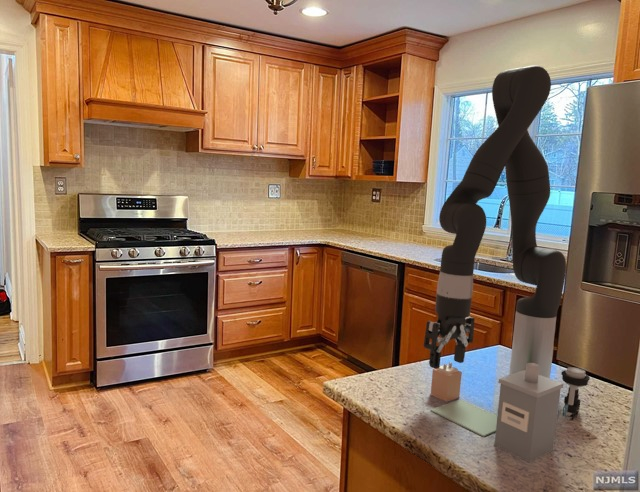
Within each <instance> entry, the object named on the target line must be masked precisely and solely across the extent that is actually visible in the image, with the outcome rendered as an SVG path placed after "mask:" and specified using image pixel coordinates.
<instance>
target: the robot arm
mask: <svg viewBox="0 0 640 492" xmlns="http://www.w3.org/2000/svg"><path fill="white" fill-rule="evenodd" d="M551 88H552V81H551V76H550V74H549V73H548V70H547V69H545V68H544V67H543V66H540V65H528V66H522V67H516V68H509V69H506V70H502V71H501V72H499V73H498V74H497V75H496V77H494V80H493V83H492V90H491V94H492V95H491V97H492V104H493V108H494V113H495V116H496V117H495V118H496V121H497V128H496V129H495V130H494V131H493V132H492V133H491V134H490V135H489V136H488V137H487V138H486V140H484V142H483V143H481V145H480V146H479V147H478V149H476V152H475V153H474V154H473V156H472V158H471V160H470V162H469V164H468V167H467V169H466V170H465V173H464V175H463V177H462V179H461V181H460V182H459V183H458V184H457V186H456V187H455V188H454V189H453V190H452V192H451V194H450V195H449V196H448V197H447V198H446V199H445V201H444V203H443V205H442V206H441V209H440V213H439V218H438V219H439V225H440V227H441V229H443V231H445V232H447V233H449V234H453V235H455V238H454V240H453V242H452V244H450V245H446V246H444V248H443V249H442V252H441V257H440V258H441V259H440V267H439V268H440V270H439V276H438V279H437V286H436V296H435V307H434V312H435V313H436V314H437V320H436V321H431V320H427V322H426V325H425V326H426V327H425V331H424V333H425V334H424V339H423V340H424V341H423V348H424V349H427V350H429V360H428V361H429V362H428V365H429V366H430V368H433V369H438V368H439V367H440V366H441V357H442V352H441V351H442V350H443V348H444V346H445V345H447V344H448V343H449V341H452V340H454V341H455V343H456V344H455V346H454V355H453V356H454V357H453V360H454V361H455V362H456V363H459V364H462V363H464V361H465V354H466V348H467V347H468V345H469V344H472V343H473V341H474V333H475V318H474V317H473V316H472V317H471V316H470V315H471V309H472V300H473V292H474V290H473V289H474V271H475V270H474V268H475V262H476V261H475V258H476V256H477V253H478V250H479V247H480V245H481V243H482V240H483V237H484V235H485V231H486V227H487V215H486V213H485V210H484V209H483V207H482V206H481V205H480V204H477V203H478V202H479V201H481V200H483V199H486V198H489V197H491V195H492V194H493V192H494V191H495V189H496V186H497V184H498V182H499V180H500V178H501V175H502V173H503V172H504V169H505V179H506V189H507V197H508V200H509V210H510V218H511V219H510V222H511V240H512V241H511V248H512V249H511V250H512V252H511V253H512V256H511V257H512V259H511V260H512V268H513V269H512V270H513V272H514V276H515V277H516V279H517V280H518V281H520V282H522V283H525V284H529V285H532V286H536V287H535V293H534V294H533V295H532V296H527V297H522V298H519V299H517V301H516V305H515V306H516V308H515V317H514V325H513V326H514V328H513V335H512V336H513V337H512V346H511V353H510V355H511V356H510V362H509V364H510V365H509V371H508V375H511V374H514V373H517V372H520V371H523V370H526V364H527V363H535V364H538V365H539V375H541V376H544V377H547V378H550V379H551V373H552V362H553V355H554V346H555V345H554V343H555V342H554V341H555V333H556V326H557V325H556V324H557V323H556V322H557V315H558V310H559V307H560V305H561V302H562V296H563V290H564V285H565V280H566V274H567V261H566V257H565V255H564V253H562V252H561V251H559V250H556V249H550V248H544V247H539V246H538V244H537V235H536V229H537V225H538V221H539V219H540V217H541V216H542V214H543V212H544V211H545V208H546V207H547V204H548V202H549V200H550V197H551V184H550V183H551V182H550V172H549V171H550V170H549V167H548V166H549V165H548V163H547V161H546V158H545V157H544V155H543V154H542V152H541V151H540V149H539V147H538V146H537V145H536V143H535V141H534V140H533V139H532V138H533V137H531V136H530V135H531V134H530V133H529V131H528V129H529V128H530V127H531V124H532V123H533V122H534V120H535V119H536V118H537V116H538V114H539V113H540V111H541V110H542V108H543V107H544V105H545V104H546V102H547V100H548V99H549V96H550V92H551ZM467 333H468V334H467ZM430 339H431V341H430ZM437 343H438V345H437Z"/></svg>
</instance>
